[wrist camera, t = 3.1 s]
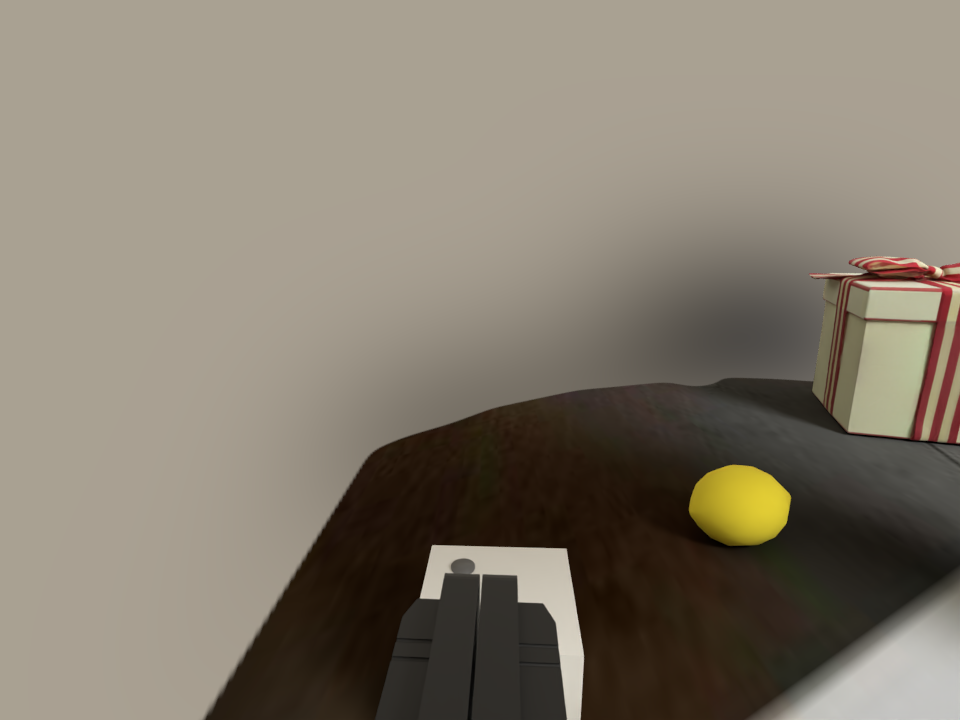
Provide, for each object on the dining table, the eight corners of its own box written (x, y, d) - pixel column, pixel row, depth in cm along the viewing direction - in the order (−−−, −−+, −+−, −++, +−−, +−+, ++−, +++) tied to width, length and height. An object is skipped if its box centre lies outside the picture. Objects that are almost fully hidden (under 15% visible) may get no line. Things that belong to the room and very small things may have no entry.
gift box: (930, 391, 67) (963, 250, 63) (1041, 455, 50) (1097, 266, 45) (780, 383, 71) (800, 248, 66) (834, 440, 54) (867, 263, 49)
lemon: (708, 571, 35) (705, 497, 34) (675, 524, 40) (672, 459, 39) (814, 554, 35) (816, 480, 34) (768, 510, 40) (768, 444, 39)
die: (435, 653, 28) (431, 543, 26) (561, 658, 28) (566, 546, 26) (414, 780, 22) (408, 647, 20) (576, 788, 22) (584, 653, 20)
